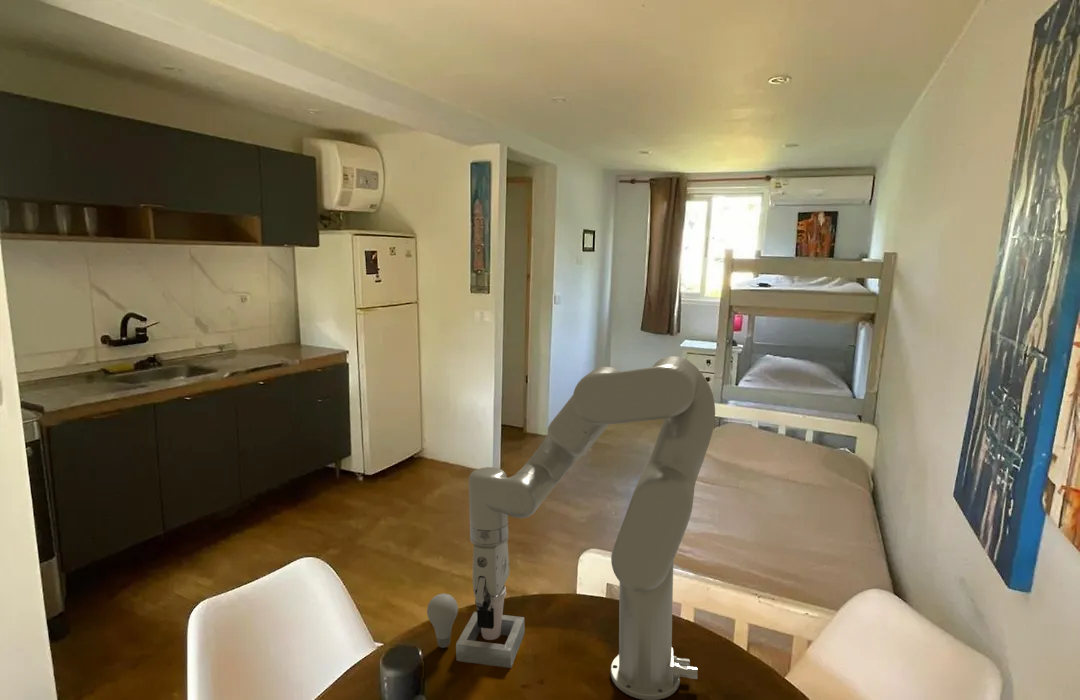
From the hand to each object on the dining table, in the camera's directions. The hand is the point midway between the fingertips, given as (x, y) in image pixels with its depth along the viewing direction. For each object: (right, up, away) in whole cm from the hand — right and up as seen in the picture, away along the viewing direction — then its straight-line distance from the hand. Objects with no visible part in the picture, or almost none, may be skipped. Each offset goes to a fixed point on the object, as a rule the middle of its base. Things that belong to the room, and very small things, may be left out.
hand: (491, 615), depth 112 cm
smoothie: (0, -4, +1) cm, 4 cm away
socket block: (0, -7, +1) cm, 7 cm away
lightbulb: (-10, -7, +1) cm, 12 cm away
